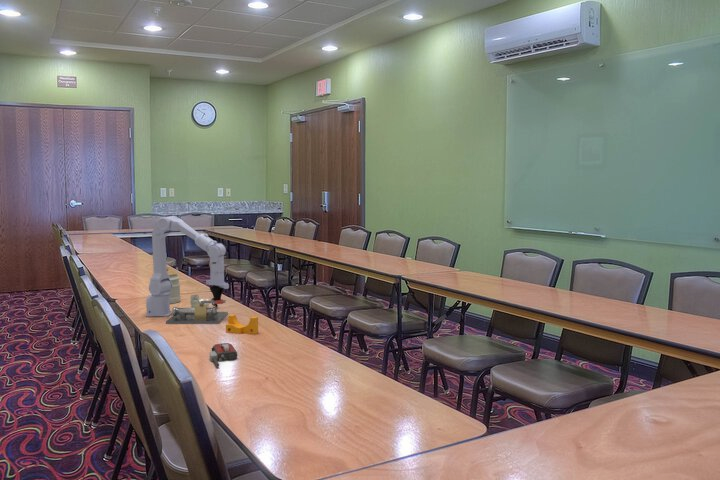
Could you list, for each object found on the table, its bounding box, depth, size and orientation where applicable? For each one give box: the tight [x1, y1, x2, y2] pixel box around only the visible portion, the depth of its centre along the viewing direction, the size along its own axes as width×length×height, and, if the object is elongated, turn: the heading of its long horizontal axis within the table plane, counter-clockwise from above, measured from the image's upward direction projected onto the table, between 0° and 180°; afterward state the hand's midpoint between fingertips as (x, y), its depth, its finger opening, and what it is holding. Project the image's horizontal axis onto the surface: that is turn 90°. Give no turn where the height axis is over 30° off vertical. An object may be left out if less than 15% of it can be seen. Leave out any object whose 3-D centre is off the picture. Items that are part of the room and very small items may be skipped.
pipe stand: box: [165, 303, 228, 325], centre depth 254 cm, size 22×18×6 cm
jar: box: [167, 266, 181, 305], centre depth 289 cm, size 13×13×18 cm
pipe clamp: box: [225, 313, 259, 335], centre depth 232 cm, size 12×4×6 cm, turn 68°
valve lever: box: [200, 299, 227, 306], centre depth 253 cm, size 11×2×2 cm, turn 95°
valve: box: [189, 294, 219, 308], centre depth 274 cm, size 7×7×12 cm
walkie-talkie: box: [209, 342, 238, 367], centre depth 198 cm, size 9×4×20 cm
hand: (217, 303), depth 255 cm, fingers closed, pressing on valve lever
